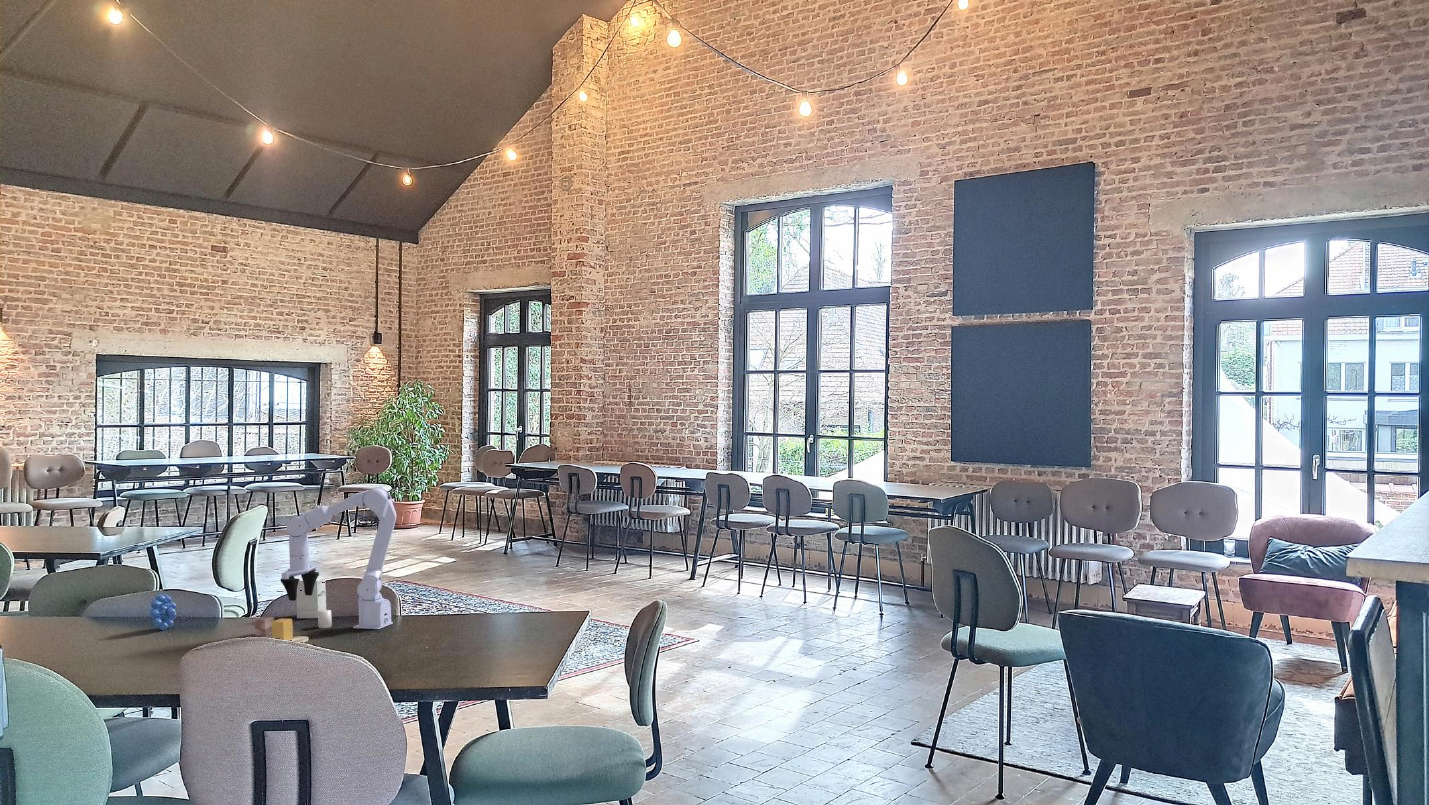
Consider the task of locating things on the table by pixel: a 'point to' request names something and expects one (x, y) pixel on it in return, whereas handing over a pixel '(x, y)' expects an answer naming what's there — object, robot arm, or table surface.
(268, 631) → the rose block
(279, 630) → the ochre block
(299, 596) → the supplement box
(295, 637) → the ash board
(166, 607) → the grapes
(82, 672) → the table surface
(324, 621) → the grey cylinder
